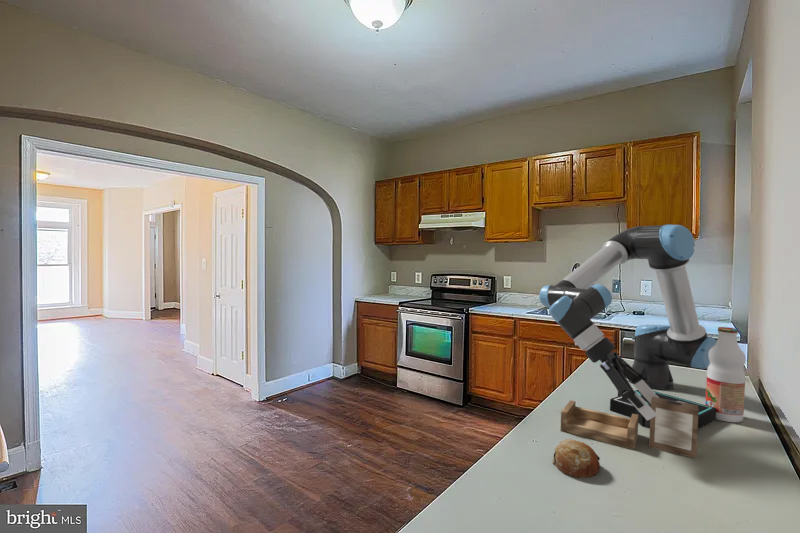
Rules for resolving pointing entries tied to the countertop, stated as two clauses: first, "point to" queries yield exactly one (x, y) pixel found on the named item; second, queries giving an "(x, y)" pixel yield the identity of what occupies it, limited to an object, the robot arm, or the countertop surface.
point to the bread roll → (576, 459)
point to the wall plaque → (627, 408)
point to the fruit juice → (726, 377)
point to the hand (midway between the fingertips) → (654, 409)
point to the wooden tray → (600, 425)
